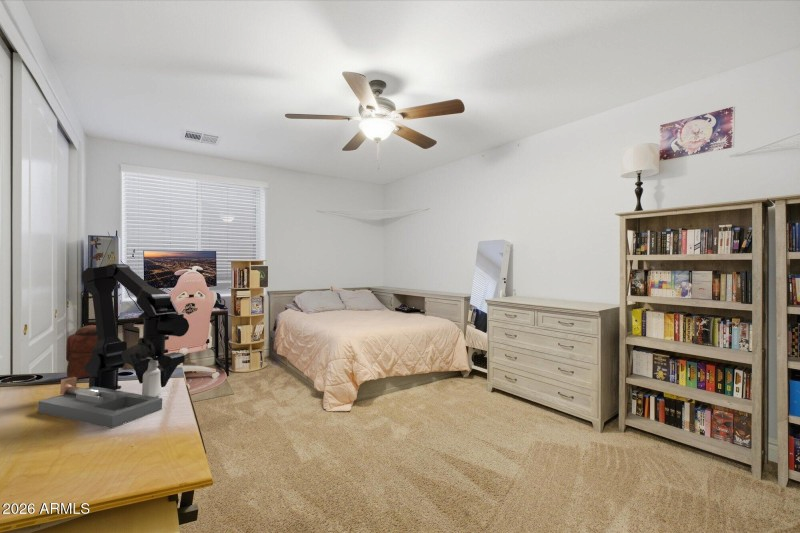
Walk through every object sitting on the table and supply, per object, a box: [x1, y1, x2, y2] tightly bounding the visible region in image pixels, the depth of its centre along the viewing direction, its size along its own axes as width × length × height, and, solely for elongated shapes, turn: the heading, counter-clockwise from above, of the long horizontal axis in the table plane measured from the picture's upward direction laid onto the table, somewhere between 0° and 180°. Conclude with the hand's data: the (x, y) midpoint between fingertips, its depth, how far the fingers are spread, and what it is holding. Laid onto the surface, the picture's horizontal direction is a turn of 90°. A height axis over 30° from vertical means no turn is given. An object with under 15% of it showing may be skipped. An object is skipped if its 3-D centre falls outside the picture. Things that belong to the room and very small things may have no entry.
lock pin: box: [60, 377, 101, 396], centre depth 103 cm, size 3×12×4 cm, turn 73°
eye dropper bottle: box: [141, 360, 163, 397], centre depth 111 cm, size 4×6×12 cm
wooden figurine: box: [65, 324, 98, 379], centre depth 130 cm, size 12×6×18 cm, turn 137°
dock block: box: [37, 386, 163, 429], centre depth 100 cm, size 14×27×4 cm, turn 73°
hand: (152, 385), depth 111 cm, fingers closed on eye dropper bottle, 8 cm apart
